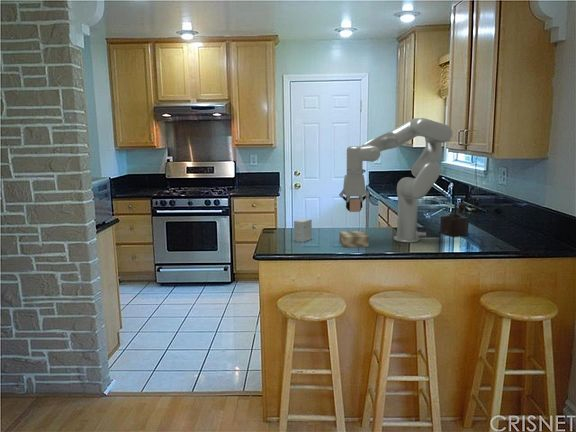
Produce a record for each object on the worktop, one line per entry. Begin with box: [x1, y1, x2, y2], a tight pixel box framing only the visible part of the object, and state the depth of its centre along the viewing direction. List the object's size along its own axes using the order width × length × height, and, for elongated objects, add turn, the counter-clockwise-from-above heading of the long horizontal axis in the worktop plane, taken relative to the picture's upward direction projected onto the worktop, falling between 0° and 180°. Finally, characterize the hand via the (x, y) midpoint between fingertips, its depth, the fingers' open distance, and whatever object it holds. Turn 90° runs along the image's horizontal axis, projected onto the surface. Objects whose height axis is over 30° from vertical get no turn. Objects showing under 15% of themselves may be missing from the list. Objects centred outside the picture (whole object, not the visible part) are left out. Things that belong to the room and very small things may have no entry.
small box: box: [293, 217, 313, 243], centre depth 235 cm, size 8×6×10 cm
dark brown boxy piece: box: [439, 202, 470, 238], centre depth 240 cm, size 16×11×18 cm
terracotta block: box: [348, 197, 361, 213], centre depth 223 cm, size 5×5×6 cm
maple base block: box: [339, 230, 370, 248], centre depth 226 cm, size 12×12×5 cm
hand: (354, 209), depth 223 cm, fingers closed on terracotta block, 5 cm apart
